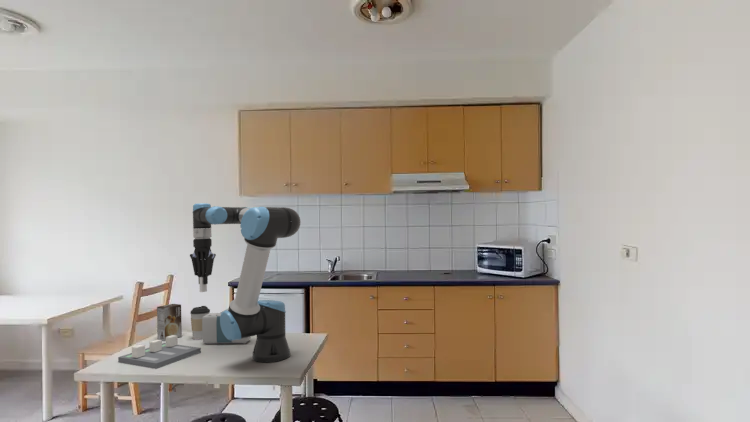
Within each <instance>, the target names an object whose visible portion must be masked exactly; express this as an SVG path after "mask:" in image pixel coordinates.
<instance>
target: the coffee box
mask: <svg viewBox="0 0 750 422" xmlns="http://www.w3.org/2000/svg"><path fill="white" fill-rule="evenodd" d="M156 318H157V319H156V324H157V326H156V329H157V331H156V333H157V335H156V337H157V339H156V340H162V342H166V337H168V336H171V335H176V336H177V339H178V338H182V337H183V334H182V332H183V331H182V329H183V328H182V304H179V303H171V304H166V305H165V304H163V305H159V306H157V307H156Z"/></svg>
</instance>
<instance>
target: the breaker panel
mask: <svg viewBox="0 0 750 422" xmlns="http://www.w3.org/2000/svg"><path fill="white" fill-rule="evenodd" d="M201 349H202V348H201V347H198V346H190V345H183V344H178V345H175V346H172V347H167V346H166V342H162V350H160V351H157V352H150V351H149V347H147V348H146V347H145V355H144V356H141V357H138V358H135V357H132V352H131V353H127V354H124V355H121V356H118V357H117V359H118V363H122V364H126V365H133V366H138V367H145V368H151V369H154V370H155V369H159V368H162V367H165V366H168V365H170V364H173V363H176V362H179V361H182V360H185V359H187V358H190V357H192V356H196V355H198V354H201V352H202V350H201Z"/></svg>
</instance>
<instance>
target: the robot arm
mask: <svg viewBox="0 0 750 422" xmlns="http://www.w3.org/2000/svg"><path fill="white" fill-rule="evenodd" d="M301 223H302V222H301V217H300V215H299V213H298V212H297V211H295V210H294V209H293V208H290V207H285V206H284V207H283V206H282V207H278V206H275V207H273V206H256V207H248V206H247V207H246V206H241V207H238V206H235V207H233V206H232V207H231V206H219V205H218V206H215V205H214V206H211V203H207V202H206V203H205V202H204V203H203V202H202V203H194V204H193V206H192V225H193V226H192V232H193V233H192V235H193V238H194V239H193V248H194V251H193V253H190V254H189V257H190V259H191V262H192V268H193V273H194V276H196V277H198V285H199V292H200V293H205V292H207V291H208V280H209V279H208V277H209V276H212V274H213V273H212V272H213V266H214V262H215V258H216V256H217V255H216V253H213V252H212V249H211V247H212V240H213V239H212V238H211V237H212V225H240V233H241V236H242V237H243V238H244V239H243V241H244V242H245V243H246V247H245V248H246V249H245V253H244V258H243V261H242V267H241V271H240V275H239V281H238V285H237V289H236V293H235V297H234V299H233V300H231V301H230V302H229V307H228V308H229V309H228V308H227V309H228V310H226V309H225V311H224V310H223V312H222V311H221V312H222V313H221V316H220V326H221V329H222V332H223V334H224V336H225V337H226V338H227V339H228V340H240V339H242V338H247V337H250V338H251V337H254V336H256V341H255V343H254V347H253V351H252V360H253V361H255V362H258V363H274V362H280V361H283V360H286V359H288V358H290V356H291V350H290V347H289V343H288V340H287V336H286V335H287V334H286V312H287V311H286V305H285V303H284V302H283V301H281V300H273V299H271V300H270V299H269V300H268V299H260V300H259V297H260V294H261V290H262V285H263V282H264V278H265V274H266V269H267V264H268V261H269V257H270V254H271V249H273V248H275V247H276V245H277V240H278V239H285V238H289V237H293V236H294V235H295V234H296V233H297V232H298V231H299V229H300V227H301Z"/></svg>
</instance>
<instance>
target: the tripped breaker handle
mask: <svg viewBox="0 0 750 422" xmlns="http://www.w3.org/2000/svg"><path fill="white" fill-rule="evenodd" d="M162 344H163V341H162V340H158V339H155V340H151V341H149V345H148V346H149V347H148V348H149V351H150V352H157V351H160V350H162Z"/></svg>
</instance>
